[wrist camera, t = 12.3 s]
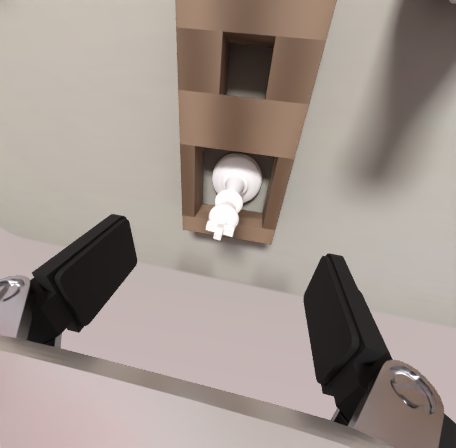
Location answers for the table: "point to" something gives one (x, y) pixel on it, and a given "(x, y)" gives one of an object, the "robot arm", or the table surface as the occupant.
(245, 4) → the socket plate
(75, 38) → the table surface
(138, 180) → the table surface
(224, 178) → the chess piece
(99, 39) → the table surface
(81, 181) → the table surface
